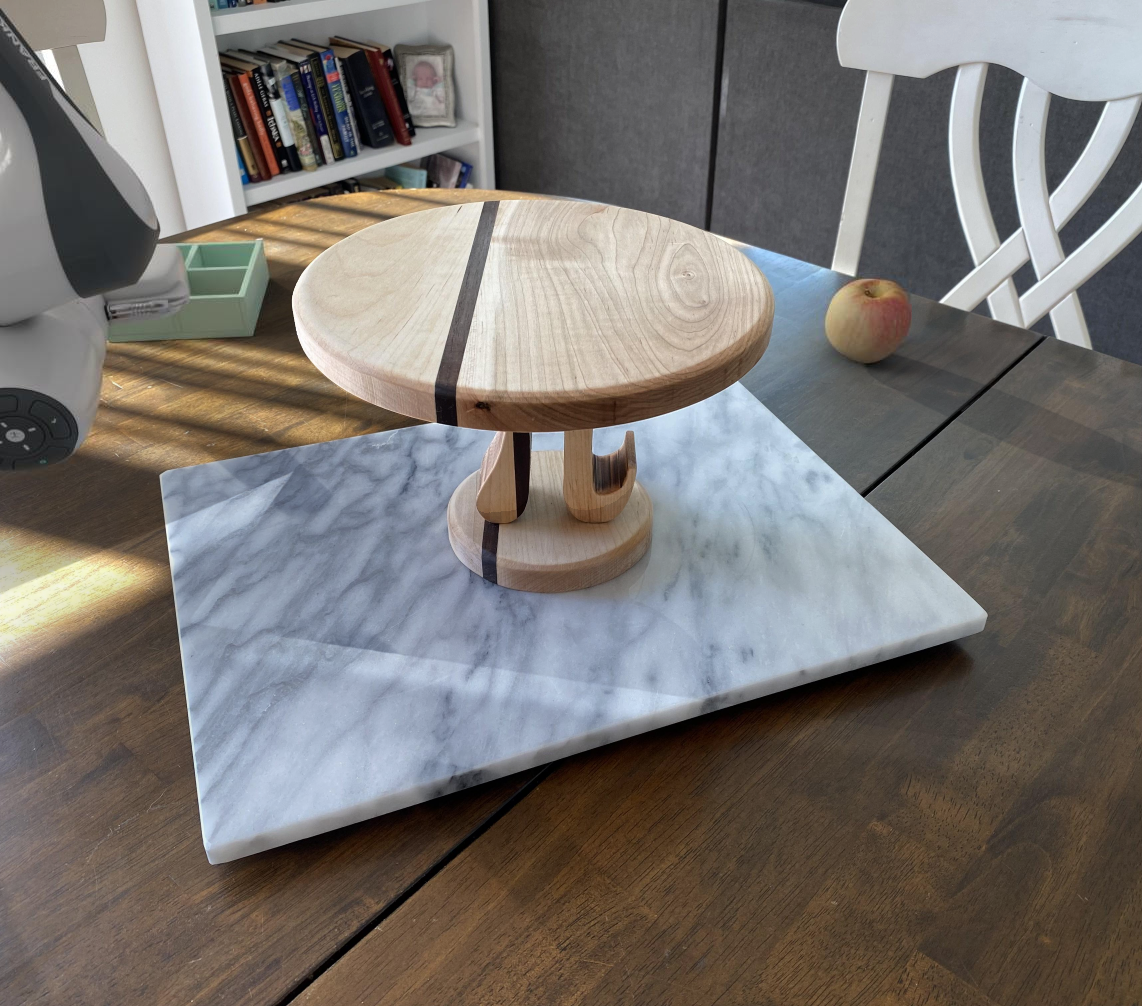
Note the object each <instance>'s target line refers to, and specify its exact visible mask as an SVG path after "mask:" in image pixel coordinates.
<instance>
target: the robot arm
mask: <svg viewBox="0 0 1142 1006" xmlns="http://www.w3.org/2000/svg"><path fill="white" fill-rule="evenodd" d="M154 206H155V205H154V204H153V201H152V199H151V196H150V194H149V193H148V190H147V189H146V187H145V185H144V184H143V182H142V180H141V178H140V177H139V176H138V175H137V173H136V172H135V171H134V169H133V168H132V167H131V166H130V164H129V163H128V162H127V160H126V159H124V158H123V156H122V155H121V154H120V153H119V152H118V151H117V150H116V149H115V148H114V147H113V145H111V144H110V143H109V142H108V141H107V140H106V139H105V137H104V136H103V135H102V134H101V133H100V131H98V129H97V128H96V127H95V125H93V124H92V122H91V121H90V120H89V119H88V118H87V116H85V114H84V113H83V112H82V110H80V108H79V106H77V104H76V103H75V102H74V101H73V100H72V98H71V97H70V96H69V95H68V94H67V92H66V91H65V90H64V88H63V87H62V86H61V84H60V83H59V82H58V81H57V79H56V78H55V77H54V76H53V74H52V73H51V72H50V71H49V69H48V67H47V66H46V65H45V64H44V62H43V60H41V59H40V57H39V56H38V55H37V53H36V52H35V51H34V50H33V48H32V47H31V46H30V44H29V43H28V42H27V40H26V39H25V38H24V36H23V35H22V33H20V31H19V30H18V29H17V28H16V26H15V25H14V24H13V22H12V21H11V20H10V18H9V17H8V16H7V14H6V13H5V12H4V10H3V9H2V8H1V7H0V472H7V473H27V472H28V473H29V472H35V471H40V470H44V469H47V468H50V467H52V466H55V465H57V464H59V463H61V462H63V461H65V460H67V459H68V458H70V457H71V456H72V455H73V454H75V453H76V451H77V450H78V449H79V448H80V447H81V446H82V445H83V444H84V442H85V441H86V439H87V437H88V436H89V435H90V433H91V430H92V428H93V426H94V423H95V421H96V416H97V414H98V410H99V406H100V401H101V395H102V388H103V379H104V376H103V373H104V372H103V366H104V363H105V360H106V355H107V348H108V347H107V346H108V334H109V325H117V324H125V323H133V322H142V321H150V320H157V319H162V318H166V317H169V316H172V315H174V314H175V313H177V312H178V311H179V310H180V308H181V307H182V305H186V304H187V303H188V302H189V300H190V299H189V298H190V288H189V287H188V277H187V272H186V267H185V263H184V259H183V256H182V252H181V250H180V249H179V248H178V247H176V246H173V245H171V244H172V243H158V242H159V239H160V235H161V224H160V221H159V218H158V216H157V214H156V213H157V212H156V210H155V207H154Z"/></svg>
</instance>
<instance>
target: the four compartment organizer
mask: <svg viewBox="0 0 1142 1006" xmlns="http://www.w3.org/2000/svg"><path fill="white" fill-rule="evenodd" d="M170 244H171V245H173V246H176V247H178V248H179V249H180V250H181V252H182V256H183V259H184V263H185V267H186V272H187V277H188V287H189V288H190V298H189V299H190V300H189V302H188V303H187V304H186V305H182V307H181V308H180V310H179V311H178V312H177V313H175V314H174V315H172V316H169V317H166V318H162V319H157V320H150V321H142V322H133V323H125V324H117V325H110V326H109V334H108V340H107V343H126V342H127V343H128V342H129V343H130V342H151V341H154V342H155V341H173V340H174V341H175V340H195V339H197V340H200V339H218V338H219V339H221V338H223V339H224V338H244V337H253V336H254V333H255V330H256V327H257V323H258V320H259V316H260V312H261V309H262V305H263V302H264V299H265V296H266V291H267V288H268V284H269V281H270V273H269V272H270V271H269V268H268V262H267V257H266V252H265V247H264V242H263V240H241V241H239V240H238V241H213V242H210V241H209V242H181V243H179V242H177V243H170Z"/></svg>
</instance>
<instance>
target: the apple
mask: <svg viewBox="0 0 1142 1006" xmlns="http://www.w3.org/2000/svg"><path fill="white" fill-rule="evenodd" d="M824 322H825V323H824V328H825V334H826V336H827V339H828V341H829V343H830V344H831V346H832V347H833V348H834V349H835V350H836V351H837V352H838V353H840V354H841V355H843V356H845V357H846V358H848V359H850V360H852V361H854V362H857V363H862V364H872V363H873V364H874V363H876V362H879V361H882V360H884V359H886V358H888V357H889V356H891V354H893V353H894V352H895V351H896V350H897V349H898V348H899V347H900V346H901V345H902V343H903V341H905V339H906V337H907V335H908V333H909V330H910V327H911V323H912V307H911V303H910V300H909V297H908V295H907V293H906V292H905V290H904V289H903V288H902V287H901V286H900V285H899V284H897V283H896V282H894V281H891V280H887V279H879V278H861V279H857V280H856V279H855V280H854V281H851V282H850V283H848V284H846V285H844V286H843V287H842V288H840V289H839V290H838V291H837V292H836V293H835V295H834V296H833V297H832V299H831V301H830V303H829V305H828V308H827V312H826V315H825V320H824Z"/></svg>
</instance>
